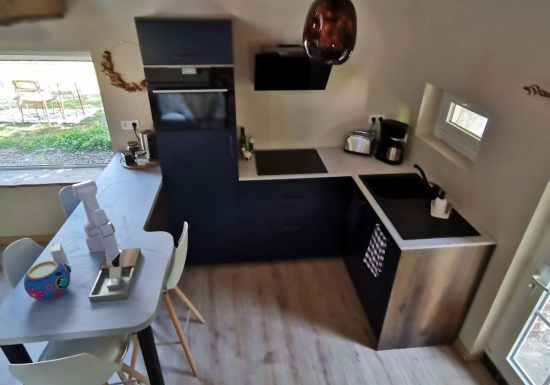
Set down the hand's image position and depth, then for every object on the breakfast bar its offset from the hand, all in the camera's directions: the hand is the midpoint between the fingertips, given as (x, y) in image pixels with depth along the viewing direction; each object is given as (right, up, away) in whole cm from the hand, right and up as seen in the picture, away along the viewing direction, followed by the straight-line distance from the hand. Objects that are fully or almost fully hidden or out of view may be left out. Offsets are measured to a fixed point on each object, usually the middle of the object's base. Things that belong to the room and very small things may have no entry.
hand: (116, 266), depth 165 cm
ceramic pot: (-25, -11, -9) cm, 29 cm away
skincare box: (-31, -1, +7) cm, 32 cm away
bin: (+1, -8, -5) cm, 10 cm away
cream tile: (0, -3, -1) cm, 3 cm away
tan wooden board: (-1, 0, +9) cm, 9 cm away
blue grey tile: (+1, -6, -5) cm, 8 cm away
